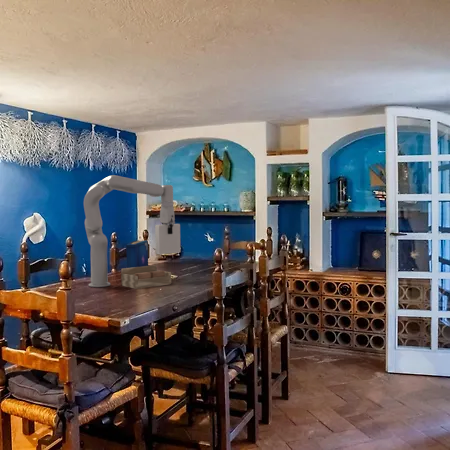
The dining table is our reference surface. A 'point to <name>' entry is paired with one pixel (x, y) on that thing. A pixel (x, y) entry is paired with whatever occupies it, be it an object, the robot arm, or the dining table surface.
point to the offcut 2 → (157, 274)
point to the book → (137, 254)
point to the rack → (133, 282)
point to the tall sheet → (167, 239)
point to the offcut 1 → (143, 275)
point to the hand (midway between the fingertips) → (168, 233)
